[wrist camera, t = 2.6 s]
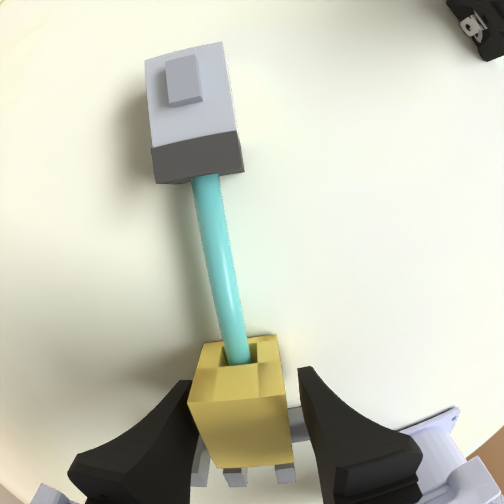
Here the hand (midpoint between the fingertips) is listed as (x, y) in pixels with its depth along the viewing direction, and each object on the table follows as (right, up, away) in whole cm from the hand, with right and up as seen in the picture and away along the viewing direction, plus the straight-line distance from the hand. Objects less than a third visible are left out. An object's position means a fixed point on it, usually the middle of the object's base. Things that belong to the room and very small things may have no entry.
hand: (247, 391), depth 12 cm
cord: (-1, +4, 0) cm, 4 cm away
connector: (-2, +12, -1) cm, 13 cm away
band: (-1, +10, -1) cm, 10 cm away
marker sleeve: (0, 0, +1) cm, 1 cm away
